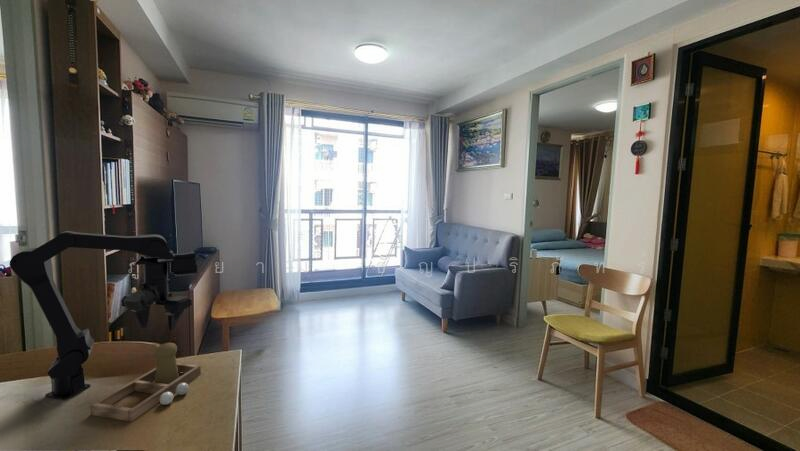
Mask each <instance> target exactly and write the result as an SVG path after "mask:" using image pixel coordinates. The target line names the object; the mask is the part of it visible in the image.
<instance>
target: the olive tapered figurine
mask: <svg viewBox="0 0 800 451" xmlns="http://www.w3.org/2000/svg"><path fill="white" fill-rule="evenodd" d="M177 351H178V346H177V345H176V343H174V342H165V343H161V344H158V346H156V348H155V351H154V355H155V357H156V358H157V360H156V366H155V368H156V375H155V379H154V382H155V383H162V384H170V383H171V382H173V381H174V380H176V379H177V378H179V377H180V373H178V367H177V363H178V362H177V358H176V354H177Z"/></svg>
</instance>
